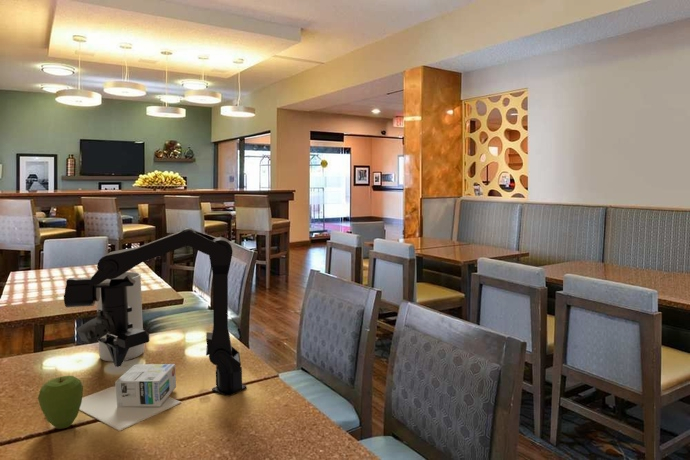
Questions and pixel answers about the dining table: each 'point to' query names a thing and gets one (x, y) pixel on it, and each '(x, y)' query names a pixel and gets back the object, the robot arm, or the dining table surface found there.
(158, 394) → the light bulb box
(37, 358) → the dining table surface
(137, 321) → the cylinder vase
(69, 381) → the apple
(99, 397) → the placemat
